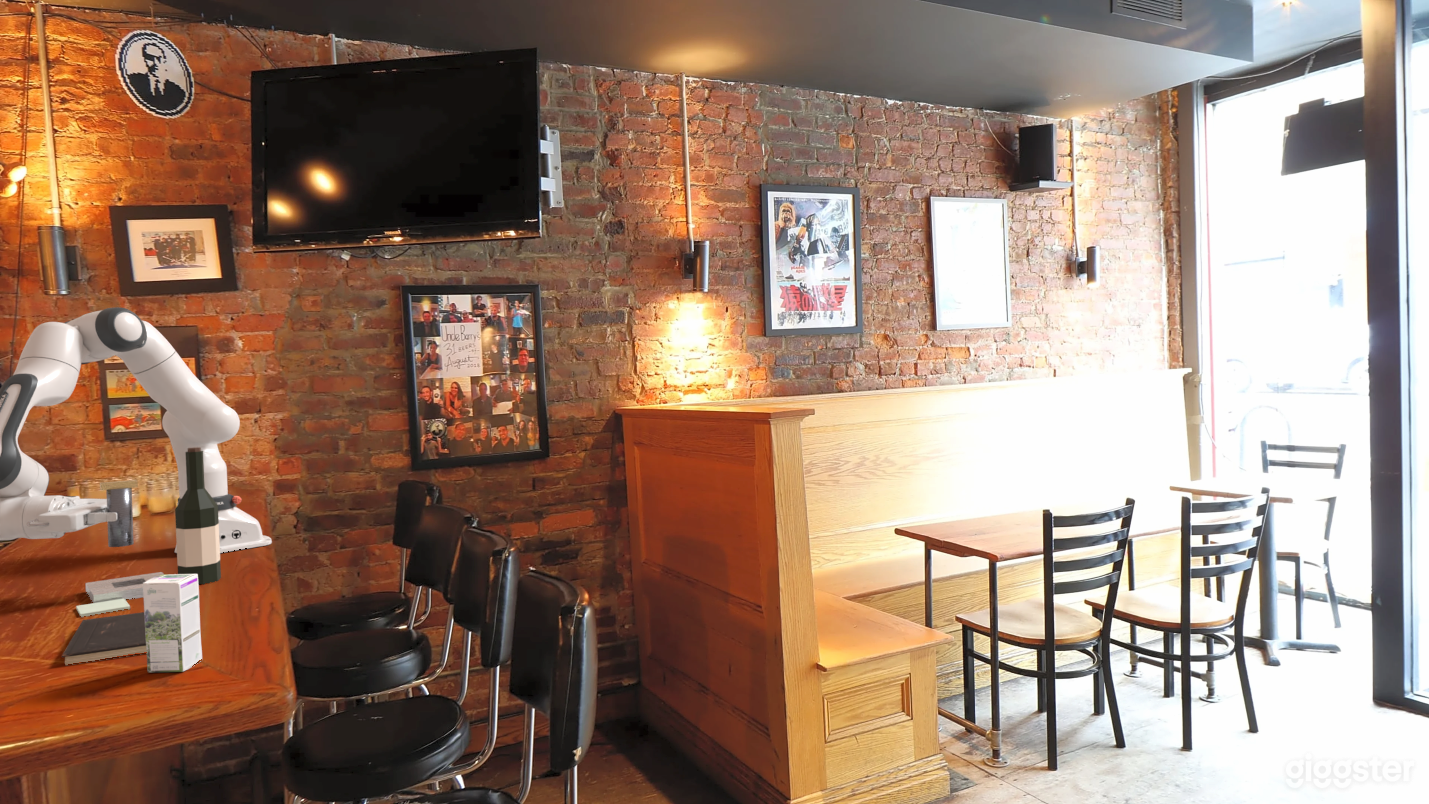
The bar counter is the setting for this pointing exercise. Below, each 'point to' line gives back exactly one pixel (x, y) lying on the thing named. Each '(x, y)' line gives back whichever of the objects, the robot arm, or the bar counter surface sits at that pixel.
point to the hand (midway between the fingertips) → (124, 514)
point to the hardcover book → (107, 638)
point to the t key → (120, 512)
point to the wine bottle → (197, 525)
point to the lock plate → (118, 588)
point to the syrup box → (172, 622)
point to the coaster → (102, 607)
